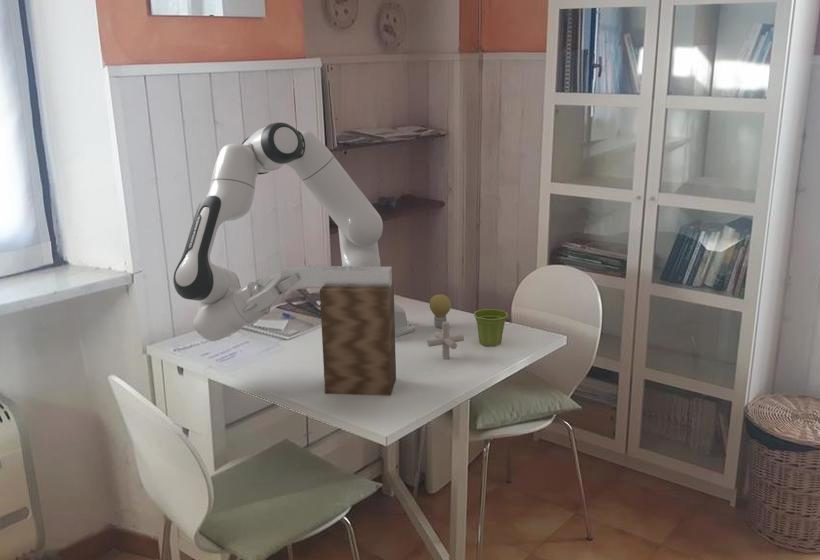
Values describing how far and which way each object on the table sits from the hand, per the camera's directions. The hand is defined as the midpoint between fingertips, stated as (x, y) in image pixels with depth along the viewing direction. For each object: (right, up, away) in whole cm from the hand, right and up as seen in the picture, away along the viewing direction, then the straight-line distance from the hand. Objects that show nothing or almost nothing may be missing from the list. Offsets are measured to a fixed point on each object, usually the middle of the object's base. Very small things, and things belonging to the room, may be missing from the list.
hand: (300, 274), depth 185 cm
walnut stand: (+14, -28, +6) cm, 32 cm away
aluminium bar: (+9, -2, 0) cm, 9 cm away
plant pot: (+49, -19, +34) cm, 63 cm away
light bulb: (+35, -16, +48) cm, 62 cm away
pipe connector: (+36, -23, +23) cm, 48 cm away
